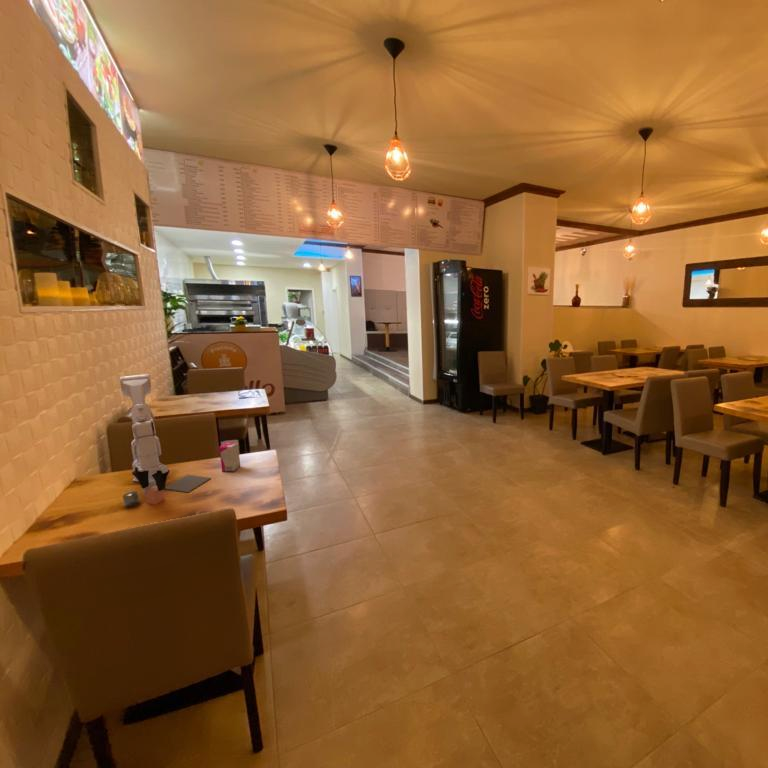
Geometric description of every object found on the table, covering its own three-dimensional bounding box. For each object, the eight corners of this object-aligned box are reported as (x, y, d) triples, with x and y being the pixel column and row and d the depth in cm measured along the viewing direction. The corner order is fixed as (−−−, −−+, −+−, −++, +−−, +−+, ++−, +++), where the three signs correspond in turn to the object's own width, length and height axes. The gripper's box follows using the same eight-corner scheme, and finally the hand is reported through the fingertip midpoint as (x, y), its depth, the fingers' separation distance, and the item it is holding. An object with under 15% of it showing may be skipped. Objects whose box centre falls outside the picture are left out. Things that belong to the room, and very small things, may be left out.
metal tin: (121, 506, 130) (119, 496, 129) (133, 500, 134) (131, 490, 133) (130, 508, 129) (129, 498, 128) (142, 502, 133) (140, 492, 132)
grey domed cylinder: (140, 495, 138) (138, 483, 137) (151, 489, 142) (149, 478, 141) (149, 497, 137) (147, 484, 136) (159, 491, 141) (158, 479, 140)
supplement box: (240, 466, 162) (238, 442, 159) (234, 472, 156) (231, 447, 154) (228, 466, 162) (225, 441, 160) (221, 472, 156) (218, 447, 154)
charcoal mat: (163, 488, 142) (163, 488, 142) (187, 475, 154) (187, 474, 154) (188, 492, 139) (187, 491, 139) (210, 478, 150) (210, 477, 150)
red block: (146, 503, 132) (144, 490, 131) (156, 497, 136) (154, 485, 135) (155, 504, 131) (153, 492, 130) (164, 499, 135) (162, 486, 134)
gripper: (121, 455, 128) (128, 491, 131) (153, 460, 124) (159, 496, 127) (140, 448, 135) (145, 482, 137) (171, 452, 130) (176, 486, 133)
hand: (153, 488), depth 132 cm, fingers open, 7 cm apart
